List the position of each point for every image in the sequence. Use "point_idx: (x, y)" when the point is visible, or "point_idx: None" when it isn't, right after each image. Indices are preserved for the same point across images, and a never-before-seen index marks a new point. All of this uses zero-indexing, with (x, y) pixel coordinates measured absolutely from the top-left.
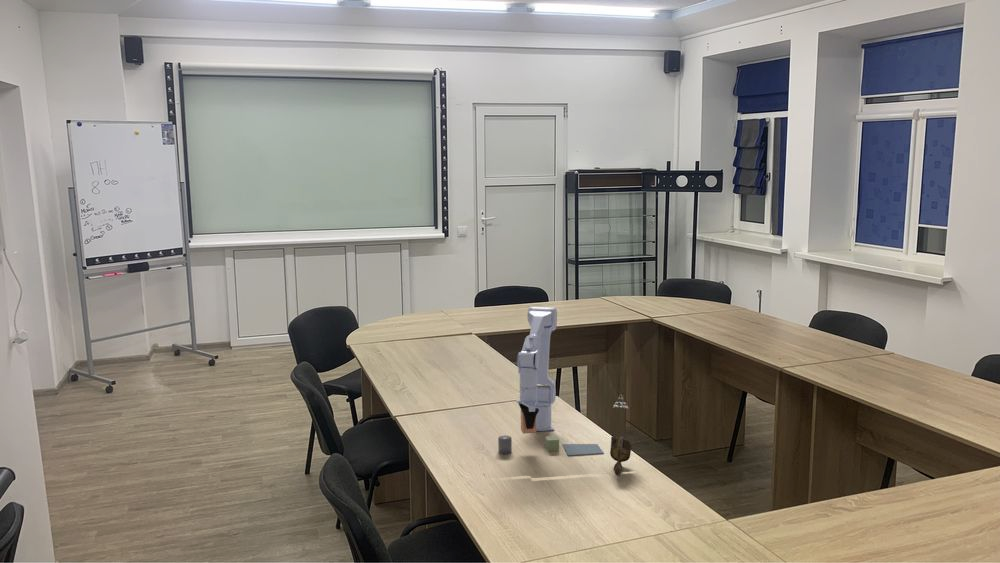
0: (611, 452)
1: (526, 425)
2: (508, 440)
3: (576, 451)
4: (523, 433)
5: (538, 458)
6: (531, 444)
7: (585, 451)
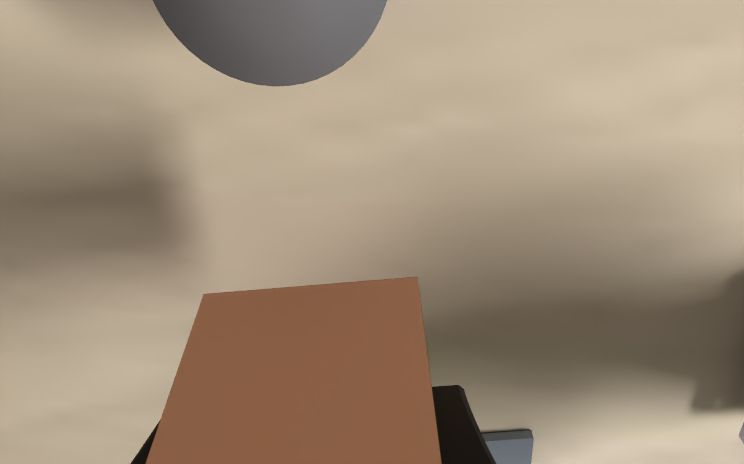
0: None
1: (136, 457)
2: (174, 24)
3: None
4: (206, 302)
5: (129, 272)
6: (503, 240)
7: None
